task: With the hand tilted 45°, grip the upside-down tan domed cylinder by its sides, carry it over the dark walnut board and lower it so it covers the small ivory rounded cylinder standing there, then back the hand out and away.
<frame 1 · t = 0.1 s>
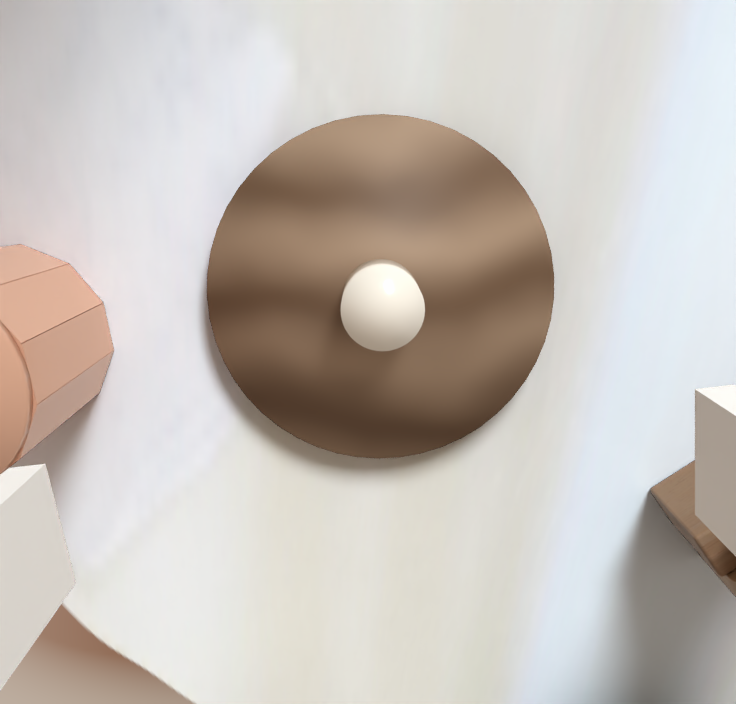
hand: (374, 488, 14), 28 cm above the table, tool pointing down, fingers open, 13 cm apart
walnut board: (380, 292, 41), on the table
tan domed cylinder: (19, 337, 42), on the table
ivory rounded cylinder: (380, 297, 40), point 1 cm above the table, touching walnut board
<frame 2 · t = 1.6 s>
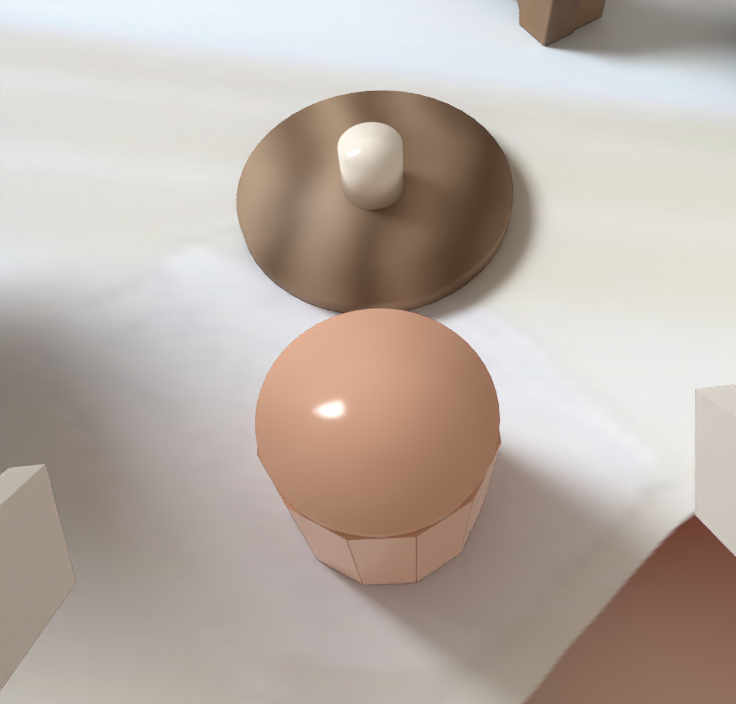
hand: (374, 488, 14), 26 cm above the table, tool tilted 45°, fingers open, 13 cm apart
walnut board: (374, 200, 51), on the table
tan domed cylinder: (385, 487, 41), on the table
ivory rounded cylinder: (373, 186, 50), point 1 cm above the table, touching walnut board
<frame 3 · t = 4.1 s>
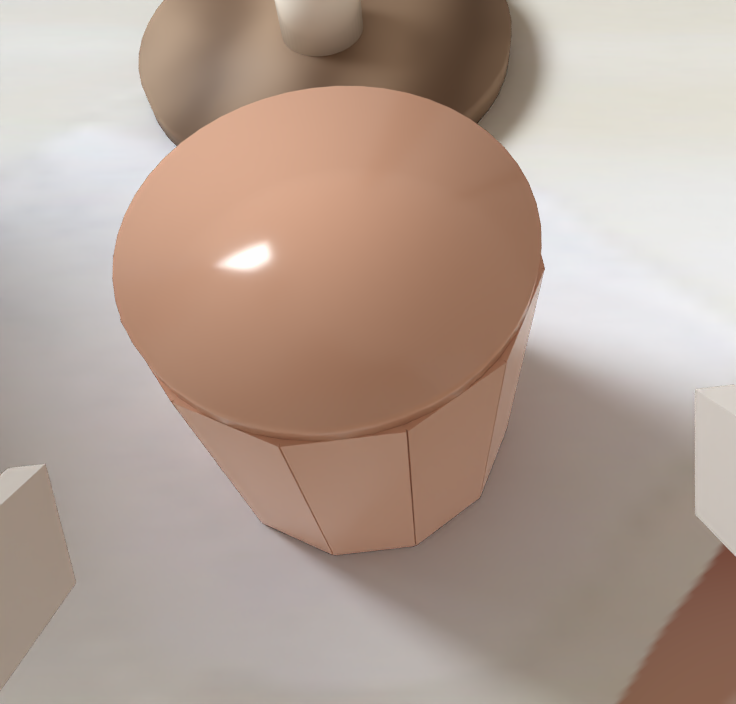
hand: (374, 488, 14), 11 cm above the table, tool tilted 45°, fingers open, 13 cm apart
walnut board: (326, 53, 38), on the table
tan domed cylinder: (360, 411, 27), on the table
ivory rounded cylinder: (322, 29, 37), point 1 cm above the table, touching walnut board
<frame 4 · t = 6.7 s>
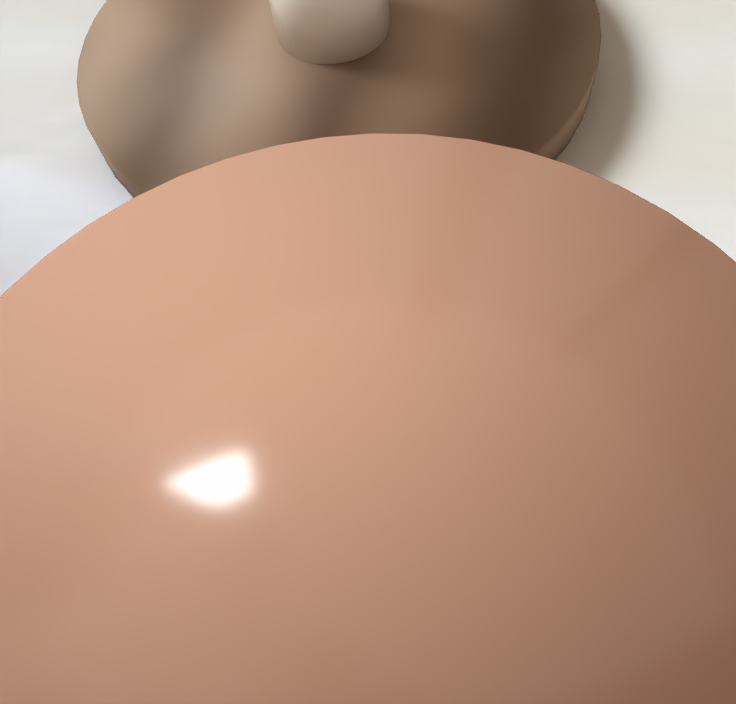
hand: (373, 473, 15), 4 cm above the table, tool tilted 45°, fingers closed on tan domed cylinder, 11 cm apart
walnut board: (337, 60, 28), on the table
tan domed cylinder: (397, 643, 17), on the table, touching gripper
ivory rounded cylinder: (333, 26, 27), point 1 cm above the table, touching walnut board
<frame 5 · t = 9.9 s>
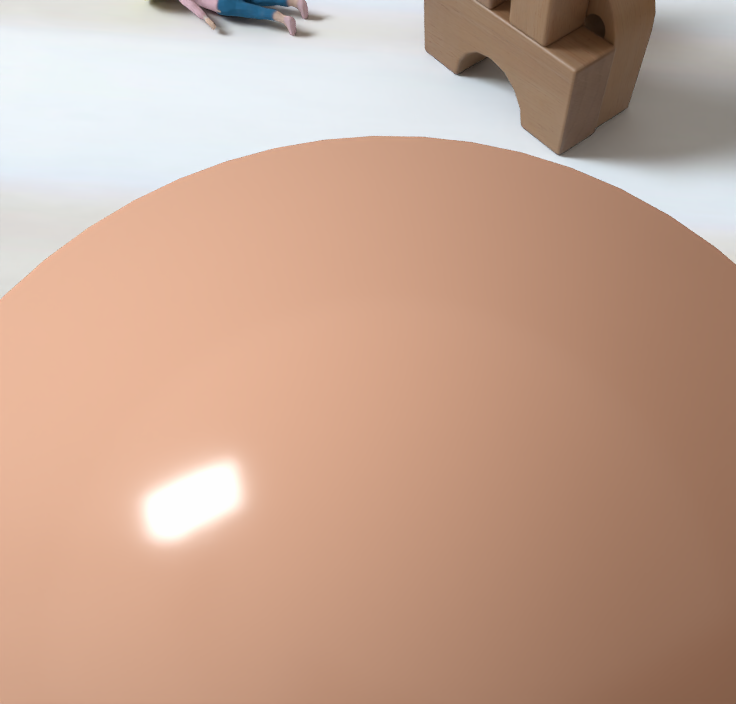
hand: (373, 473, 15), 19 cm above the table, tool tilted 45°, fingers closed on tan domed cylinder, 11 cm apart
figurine: (219, 12, 54), on the table
tan domed cylinder: (397, 645, 17), point 15 cm above the table, touching gripper
wooden toy: (515, 74, 48), on the table
when the fingers open (7 cm above the table, at t = 13.4 s): tan domed cylinder drops 1 cm, resting on walnut board.
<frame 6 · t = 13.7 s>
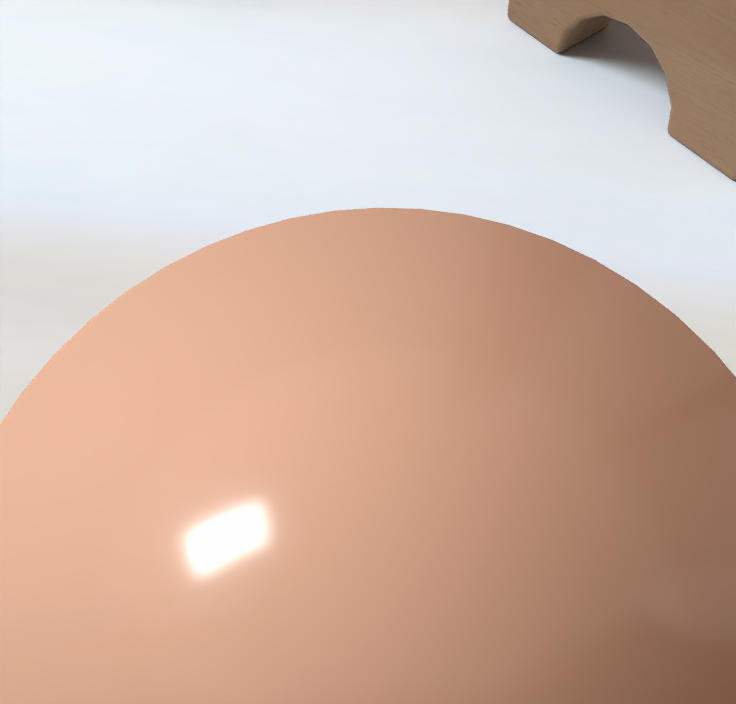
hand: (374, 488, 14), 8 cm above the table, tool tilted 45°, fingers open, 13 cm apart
tan domed cylinder: (398, 653, 18), point 1 cm above the table, touching walnut board
wooden toy: (648, 55, 31), on the table
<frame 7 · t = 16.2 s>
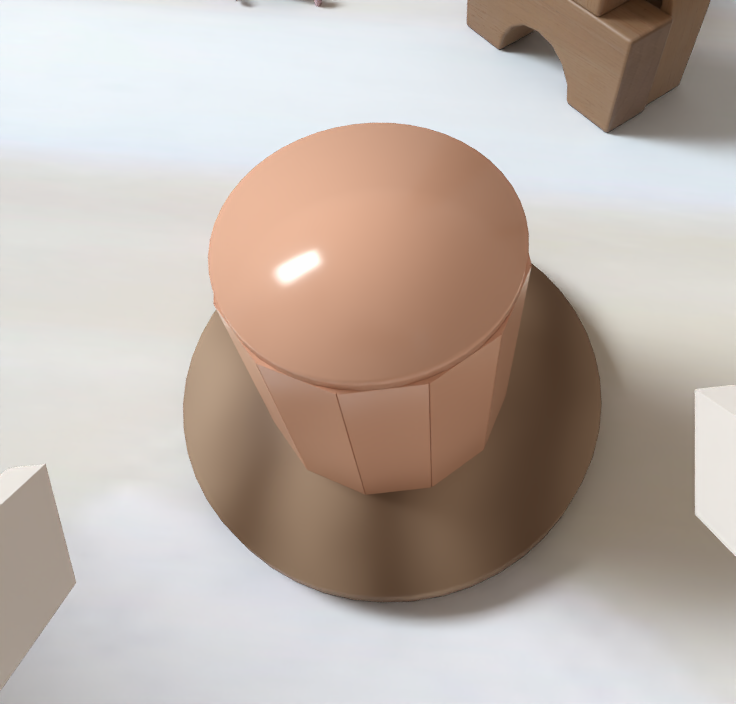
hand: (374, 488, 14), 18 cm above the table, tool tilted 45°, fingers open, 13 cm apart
walnut board: (388, 393, 35), on the table
tan domed cylinder: (386, 381, 33), point 1 cm above the table, touching walnut board
wooden toy: (560, 50, 46), on the table
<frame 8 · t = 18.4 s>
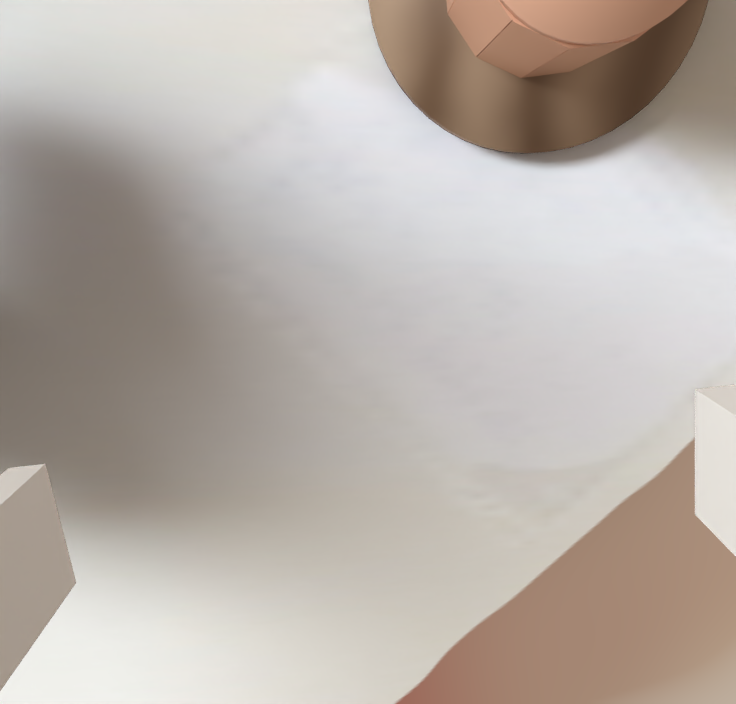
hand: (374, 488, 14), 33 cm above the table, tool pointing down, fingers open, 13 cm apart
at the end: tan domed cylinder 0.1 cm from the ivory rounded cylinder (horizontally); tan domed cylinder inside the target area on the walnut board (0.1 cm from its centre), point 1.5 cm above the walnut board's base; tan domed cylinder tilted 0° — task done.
